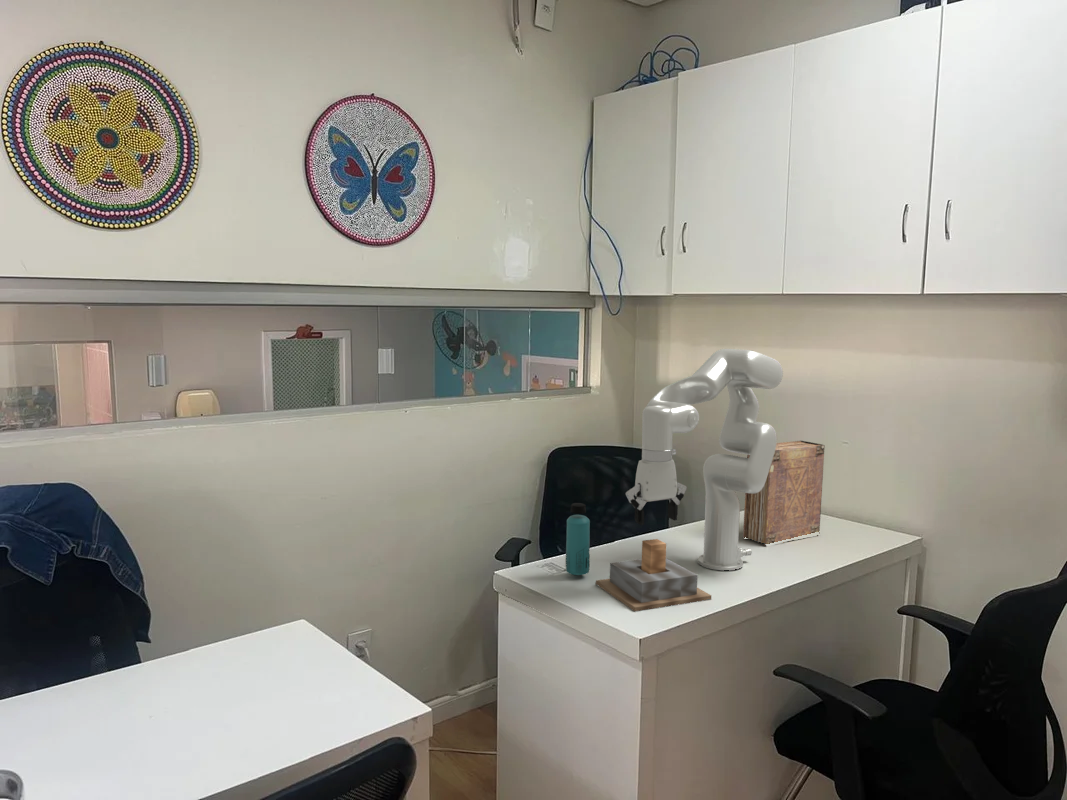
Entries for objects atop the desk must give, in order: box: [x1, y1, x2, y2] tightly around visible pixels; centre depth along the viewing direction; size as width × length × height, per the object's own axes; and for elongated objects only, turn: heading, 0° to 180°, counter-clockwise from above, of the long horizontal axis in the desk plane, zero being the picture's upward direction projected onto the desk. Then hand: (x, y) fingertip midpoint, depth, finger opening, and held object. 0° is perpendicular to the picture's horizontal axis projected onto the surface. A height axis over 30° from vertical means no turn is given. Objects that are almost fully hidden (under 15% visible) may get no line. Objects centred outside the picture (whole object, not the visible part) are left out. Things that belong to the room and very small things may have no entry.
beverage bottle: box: [565, 502, 591, 576], centre depth 208 cm, size 6×7×20 cm
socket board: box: [595, 557, 712, 612], centre depth 199 cm, size 22×20×6 cm
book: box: [742, 440, 826, 545], centre depth 248 cm, size 25×9×30 cm, turn 122°
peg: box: [641, 538, 667, 574], centre depth 198 cm, size 4×4×12 cm
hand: (656, 521), depth 198 cm, fingers open, 9 cm apart
